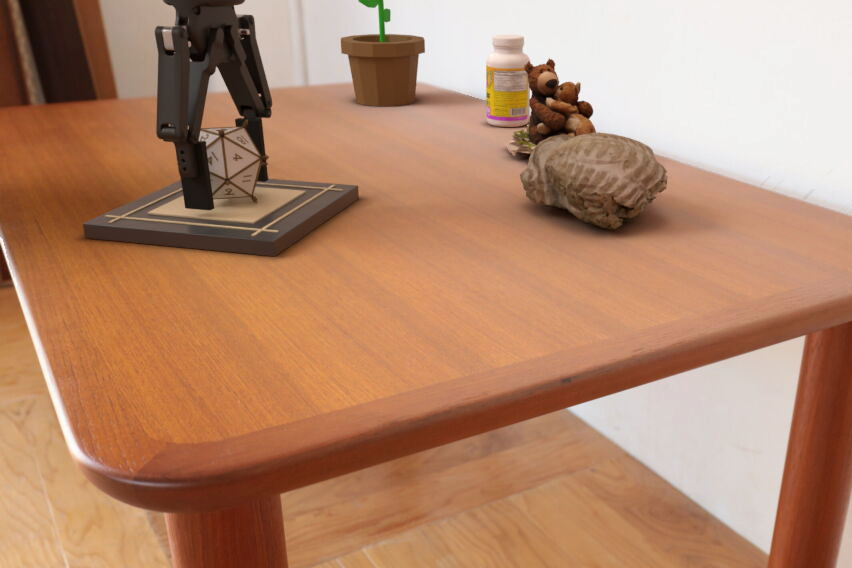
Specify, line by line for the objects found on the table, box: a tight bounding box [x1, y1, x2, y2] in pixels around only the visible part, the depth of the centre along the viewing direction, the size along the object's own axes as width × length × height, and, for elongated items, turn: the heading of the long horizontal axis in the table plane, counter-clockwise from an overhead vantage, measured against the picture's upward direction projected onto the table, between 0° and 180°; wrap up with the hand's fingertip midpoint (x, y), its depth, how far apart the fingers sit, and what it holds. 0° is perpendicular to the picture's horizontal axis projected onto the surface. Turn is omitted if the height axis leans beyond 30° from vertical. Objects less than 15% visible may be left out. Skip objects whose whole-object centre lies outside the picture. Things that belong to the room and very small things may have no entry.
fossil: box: [519, 132, 669, 231], centre depth 94 cm, size 18×13×10 cm
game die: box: [199, 119, 270, 203], centre depth 90 cm, size 9×8×10 cm
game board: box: [82, 178, 360, 257], centre depth 93 cm, size 20×20×2 cm
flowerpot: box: [340, 0, 426, 107], centre depth 148 cm, size 14×14×30 cm
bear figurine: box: [505, 57, 597, 157], centre depth 116 cm, size 14×15×12 cm
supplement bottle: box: [485, 34, 531, 128], centre depth 135 cm, size 7×7×13 cm
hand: (229, 193), depth 92 cm, fingers open, 10 cm apart
